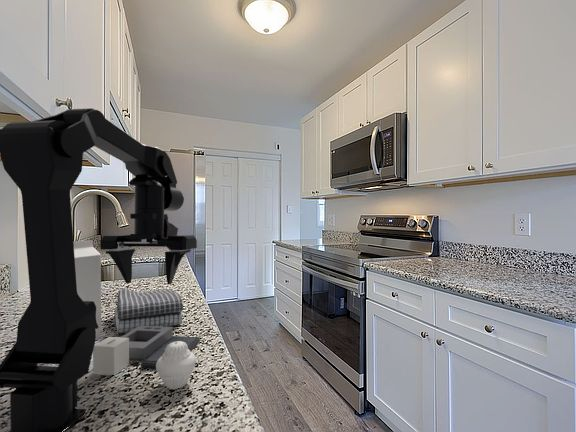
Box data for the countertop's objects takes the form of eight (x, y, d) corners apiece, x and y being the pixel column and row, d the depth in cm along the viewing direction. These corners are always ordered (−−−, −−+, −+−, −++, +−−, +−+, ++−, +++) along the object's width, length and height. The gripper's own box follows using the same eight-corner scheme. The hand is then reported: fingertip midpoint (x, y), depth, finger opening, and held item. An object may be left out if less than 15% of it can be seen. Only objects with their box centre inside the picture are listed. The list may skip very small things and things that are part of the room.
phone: (172, 369, 54) (172, 363, 54) (141, 367, 55) (141, 361, 55) (199, 341, 66) (199, 336, 66) (173, 340, 67) (173, 335, 67)
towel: (116, 339, 69) (116, 304, 68) (114, 316, 84) (114, 287, 84) (185, 326, 76) (185, 295, 76) (171, 307, 92) (171, 281, 92)
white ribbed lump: (192, 370, 54) (192, 331, 54) (199, 388, 48) (199, 344, 48) (154, 380, 51) (154, 338, 51) (157, 399, 45) (157, 352, 45)
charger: (114, 376, 52) (114, 346, 52) (93, 374, 53) (92, 345, 53) (129, 364, 56) (129, 337, 56) (109, 363, 57) (109, 336, 57)
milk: (57, 343, 66) (55, 241, 66) (85, 333, 71) (84, 239, 71) (73, 348, 63) (72, 242, 63) (102, 337, 69) (100, 240, 69)
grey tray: (144, 360, 58) (143, 347, 58) (105, 358, 58) (105, 345, 58) (172, 337, 68) (172, 326, 68) (139, 336, 69) (139, 325, 69)
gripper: (206, 210, 71) (206, 277, 70) (132, 211, 73) (132, 276, 73) (185, 208, 60) (184, 287, 59) (98, 208, 62) (97, 285, 62)
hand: (149, 283), depth 64 cm, fingers open, 9 cm apart
